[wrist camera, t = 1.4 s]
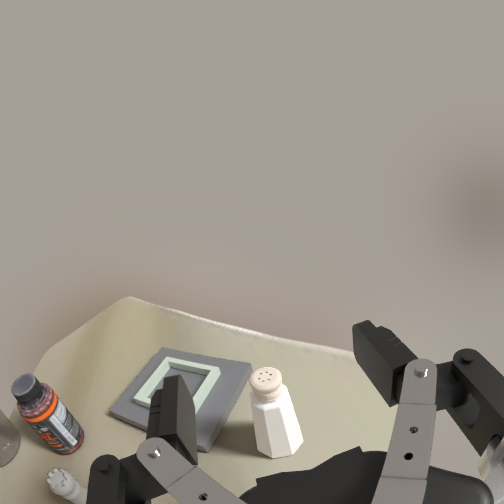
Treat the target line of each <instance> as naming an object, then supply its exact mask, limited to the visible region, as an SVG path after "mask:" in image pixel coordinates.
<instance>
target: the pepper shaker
mask: <svg viewBox="0 0 504 504" xmlns="http://www.w3.org/2000/svg"><path fill="white" fill-rule="evenodd" d="M281 380H282V376H281V373H280V372H279V371H278V370H277V369H274V368H271V367H263V368H260V369H257V370H256V371H254V372H253V373H252V375H251V376H250V379H249V382H250V385H251V387H252V390H253V391H252V392H251V393H250V399H251V406H252V414H253V421H254V428H255V436H256V443H257V449H258V451H260V452H262V453H263V454H265V455H267V456H269V457H271V458H273V459H274V458H279V457H284V456H289V455H293V454H294V452H295V451H296V450H297V449H298V447H299V446H300V445H301V444H302V442H303V438H302V434H301V430H300V426H299V423H298V420H297V417H296V414H295V411H294V408H293V405H292V402H291V399H290V396H289V392H288V390H287V387H286V386H285V385H283V384H282V381H281Z"/></svg>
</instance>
